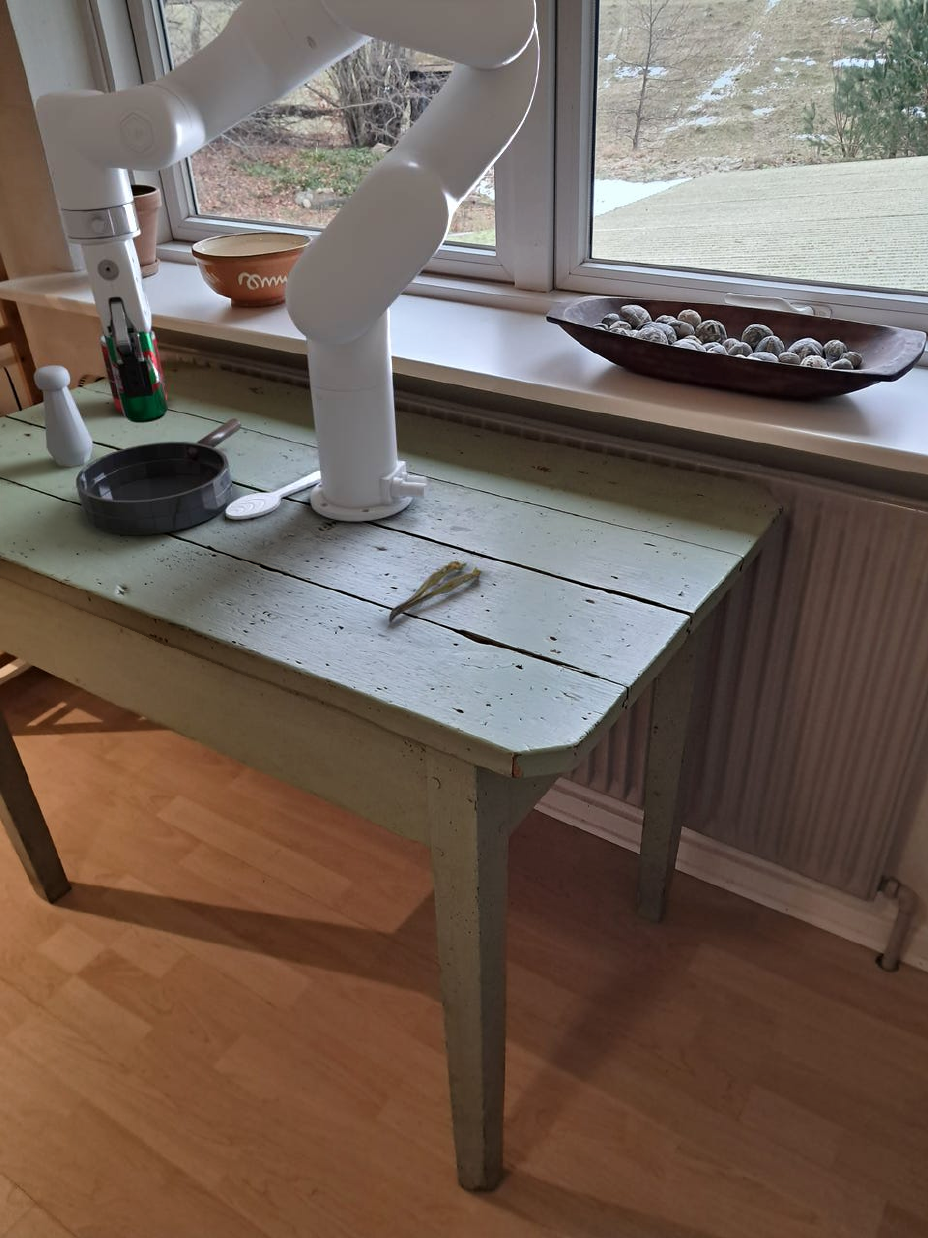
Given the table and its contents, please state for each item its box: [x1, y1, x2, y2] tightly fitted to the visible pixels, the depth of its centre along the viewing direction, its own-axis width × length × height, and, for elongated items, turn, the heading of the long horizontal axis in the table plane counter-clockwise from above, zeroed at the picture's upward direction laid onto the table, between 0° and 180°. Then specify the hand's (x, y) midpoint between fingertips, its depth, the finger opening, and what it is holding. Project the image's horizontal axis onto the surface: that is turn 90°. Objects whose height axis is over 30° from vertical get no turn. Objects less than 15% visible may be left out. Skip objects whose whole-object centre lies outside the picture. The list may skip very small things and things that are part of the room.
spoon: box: [225, 469, 321, 520], centre depth 122 cm, size 5×18×1 cm, turn 139°
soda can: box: [101, 310, 169, 424], centre depth 111 cm, size 5×5×12 cm
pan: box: [75, 441, 234, 536], centre depth 119 cm, size 18×18×4 cm
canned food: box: [99, 329, 168, 414], centre depth 147 cm, size 8×8×11 cm
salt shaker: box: [33, 365, 93, 468], centre depth 129 cm, size 6×6×13 cm
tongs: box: [388, 560, 484, 624], centre depth 99 cm, size 4×13×2 cm, turn 145°
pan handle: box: [187, 418, 242, 460], centre depth 129 cm, size 2×12×2 cm, turn 161°
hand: (140, 386), depth 112 cm, fingers closed on soda can, 5 cm apart
